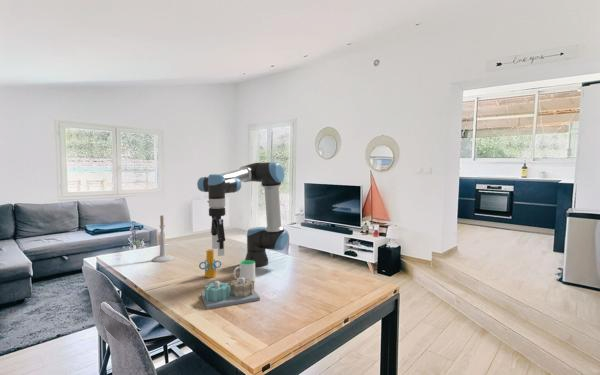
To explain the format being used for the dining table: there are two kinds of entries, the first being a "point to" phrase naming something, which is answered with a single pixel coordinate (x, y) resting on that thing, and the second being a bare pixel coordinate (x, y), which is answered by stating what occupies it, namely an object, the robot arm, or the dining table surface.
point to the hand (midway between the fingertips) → (218, 251)
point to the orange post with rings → (210, 264)
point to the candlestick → (162, 245)
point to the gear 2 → (242, 288)
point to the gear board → (229, 298)
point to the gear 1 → (217, 292)
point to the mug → (246, 270)
